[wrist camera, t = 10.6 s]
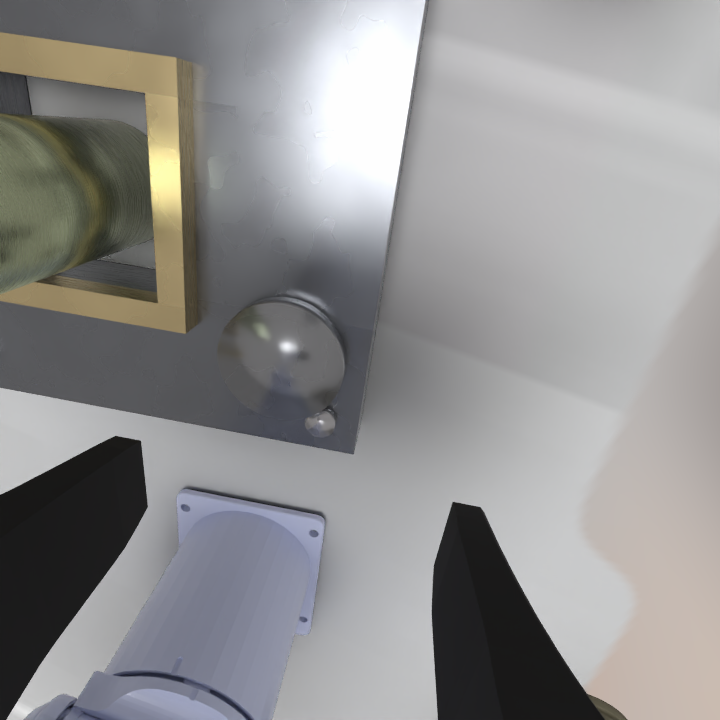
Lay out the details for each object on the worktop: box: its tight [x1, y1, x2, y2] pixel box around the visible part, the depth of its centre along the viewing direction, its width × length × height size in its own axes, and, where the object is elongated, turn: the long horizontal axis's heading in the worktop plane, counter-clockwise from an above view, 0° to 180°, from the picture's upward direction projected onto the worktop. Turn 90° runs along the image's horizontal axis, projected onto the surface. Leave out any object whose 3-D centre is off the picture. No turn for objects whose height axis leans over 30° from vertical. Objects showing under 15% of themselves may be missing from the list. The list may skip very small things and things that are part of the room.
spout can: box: [0, 113, 154, 294], centre depth 14 cm, size 5×5×10 cm
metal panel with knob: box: [0, 0, 429, 454], centre depth 17 cm, size 18×18×4 cm
